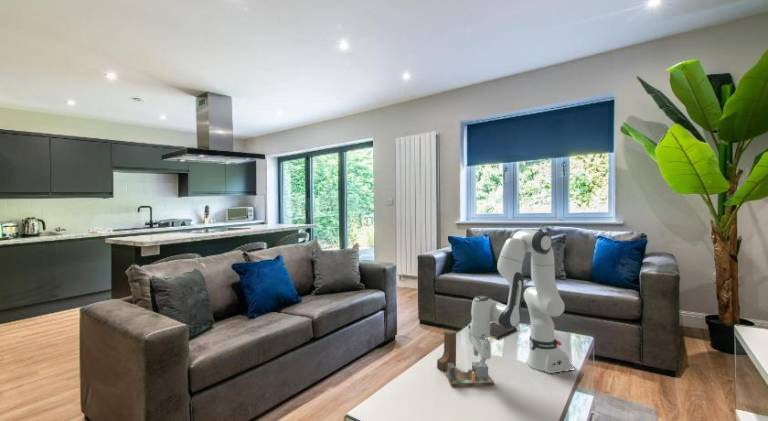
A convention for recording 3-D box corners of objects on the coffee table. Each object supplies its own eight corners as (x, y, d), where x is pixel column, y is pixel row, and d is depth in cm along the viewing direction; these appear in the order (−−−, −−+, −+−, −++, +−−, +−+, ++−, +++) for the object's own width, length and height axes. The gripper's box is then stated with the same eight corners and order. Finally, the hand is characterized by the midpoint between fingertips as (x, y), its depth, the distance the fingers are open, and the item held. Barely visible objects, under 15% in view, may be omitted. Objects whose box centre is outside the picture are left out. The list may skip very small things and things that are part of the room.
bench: (486, 374, 173) (486, 359, 172) (494, 385, 163) (494, 369, 162) (446, 375, 171) (446, 360, 171) (451, 387, 161) (451, 370, 161)
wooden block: (442, 371, 175) (443, 336, 174) (436, 368, 179) (437, 333, 178) (456, 367, 180) (456, 332, 179) (450, 363, 184) (450, 329, 183)
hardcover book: (474, 332, 227) (474, 329, 227) (494, 324, 242) (494, 321, 242) (497, 340, 215) (497, 336, 215) (516, 331, 230) (516, 327, 230)
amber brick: (473, 379, 164) (473, 371, 164) (474, 381, 162) (475, 373, 162) (471, 379, 164) (471, 371, 164) (472, 381, 162) (472, 373, 162)
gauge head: (484, 374, 170) (484, 361, 170) (490, 382, 162) (490, 369, 162) (467, 374, 169) (467, 362, 169) (472, 382, 162) (472, 370, 162)
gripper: (495, 339, 156) (493, 370, 157) (479, 323, 176) (478, 350, 177) (481, 339, 156) (479, 370, 156) (467, 323, 176) (466, 350, 177)
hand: (479, 359), depth 167 cm, fingers open, 8 cm apart
